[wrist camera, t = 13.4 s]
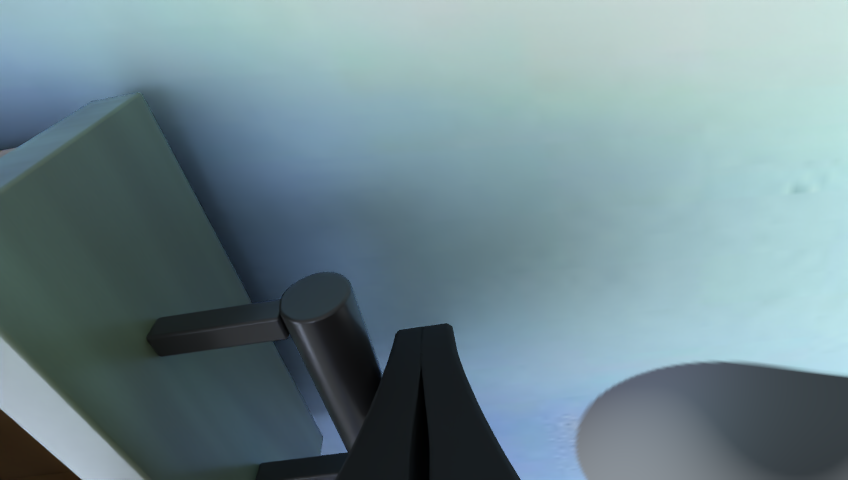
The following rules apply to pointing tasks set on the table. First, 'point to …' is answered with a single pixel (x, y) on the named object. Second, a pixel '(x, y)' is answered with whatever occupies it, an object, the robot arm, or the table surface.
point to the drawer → (153, 323)
